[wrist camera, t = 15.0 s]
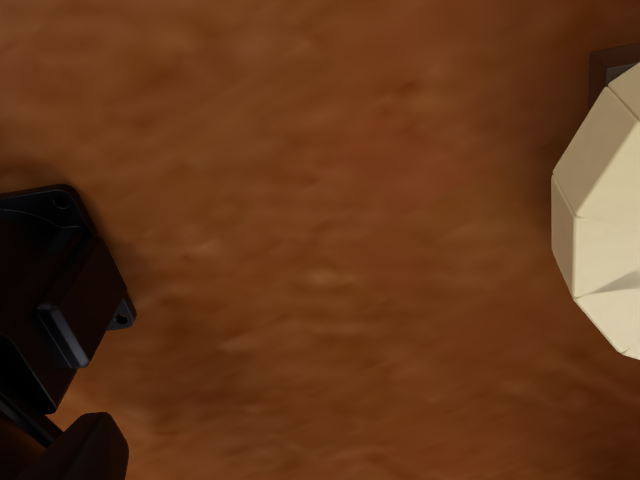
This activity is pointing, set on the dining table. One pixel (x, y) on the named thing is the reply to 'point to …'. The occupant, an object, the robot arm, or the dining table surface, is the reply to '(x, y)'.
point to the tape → (603, 214)
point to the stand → (610, 67)
